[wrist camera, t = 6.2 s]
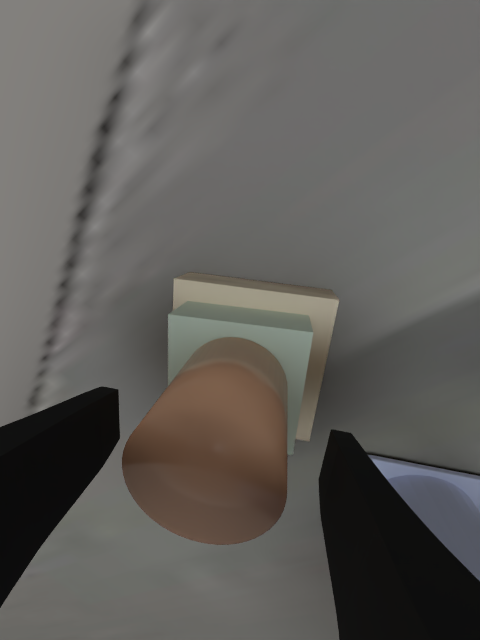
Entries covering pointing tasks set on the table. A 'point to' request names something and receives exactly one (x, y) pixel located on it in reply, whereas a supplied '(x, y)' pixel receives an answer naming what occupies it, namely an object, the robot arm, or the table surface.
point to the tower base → (279, 299)
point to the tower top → (252, 324)
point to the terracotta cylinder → (215, 446)
